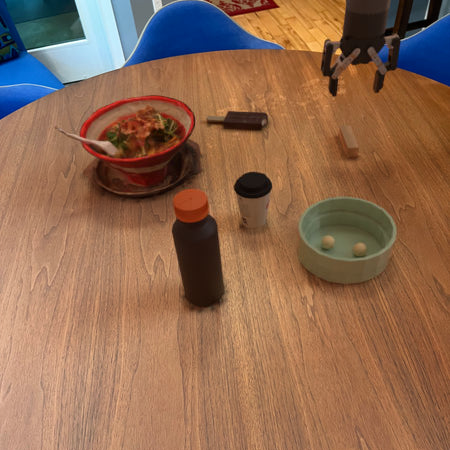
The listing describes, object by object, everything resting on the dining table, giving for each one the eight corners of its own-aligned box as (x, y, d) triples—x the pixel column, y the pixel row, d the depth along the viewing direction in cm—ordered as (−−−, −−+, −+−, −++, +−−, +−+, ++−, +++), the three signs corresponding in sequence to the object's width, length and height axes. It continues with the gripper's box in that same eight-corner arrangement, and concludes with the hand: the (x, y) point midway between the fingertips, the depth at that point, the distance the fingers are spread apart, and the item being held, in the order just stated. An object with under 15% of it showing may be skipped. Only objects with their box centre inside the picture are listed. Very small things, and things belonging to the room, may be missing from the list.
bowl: (376, 218, 91) (382, 192, 86) (400, 281, 80) (408, 256, 76) (291, 226, 91) (292, 200, 87) (304, 289, 81) (306, 264, 76)
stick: (348, 134, 110) (350, 124, 108) (357, 156, 104) (359, 147, 102) (338, 135, 110) (339, 125, 108) (346, 157, 104) (348, 148, 102)
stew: (79, 221, 96) (51, 151, 84) (78, 156, 112) (54, 89, 100) (215, 195, 99) (207, 124, 86) (195, 135, 114) (186, 67, 102)
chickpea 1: (332, 242, 87) (334, 232, 85) (335, 251, 85) (336, 241, 83) (319, 243, 87) (320, 233, 85) (321, 252, 85) (323, 242, 83)
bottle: (211, 313, 79) (198, 220, 63) (177, 300, 81) (156, 207, 66) (231, 286, 82) (223, 191, 67) (198, 273, 85) (182, 179, 70)
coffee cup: (239, 237, 90) (236, 194, 82) (233, 214, 95) (230, 171, 87) (275, 231, 90) (276, 188, 83) (268, 208, 95) (267, 165, 87)
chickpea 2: (364, 249, 85) (366, 239, 83) (367, 258, 84) (369, 248, 82) (350, 250, 85) (352, 240, 83) (353, 260, 84) (355, 250, 82)
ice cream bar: (204, 127, 116) (265, 130, 113) (203, 121, 115) (265, 124, 112) (209, 116, 119) (268, 118, 117) (208, 109, 118) (268, 112, 115)
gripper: (331, 15, 82) (323, 105, 94) (414, 7, 82) (395, 99, 94) (323, -1, 87) (316, 87, 99) (401, -8, 87) (384, 81, 99)
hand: (354, 93), depth 97 cm, fingers open, 8 cm apart
